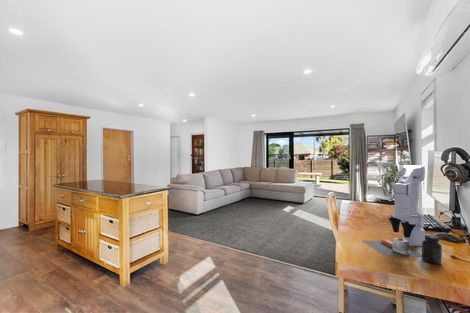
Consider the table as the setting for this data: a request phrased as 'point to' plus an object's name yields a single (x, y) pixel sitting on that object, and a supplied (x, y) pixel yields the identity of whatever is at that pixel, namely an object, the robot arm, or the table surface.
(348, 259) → the table surface
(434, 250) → the supplement bottle
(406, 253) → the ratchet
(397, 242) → the socket
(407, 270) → the table surface
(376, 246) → the mat
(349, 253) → the table surface
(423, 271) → the table surface
